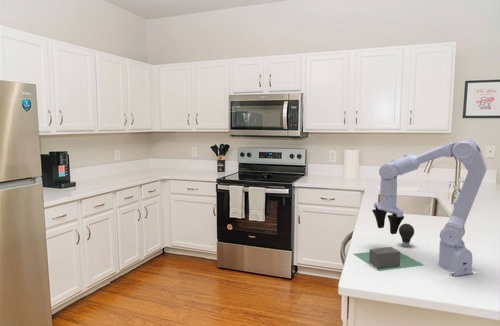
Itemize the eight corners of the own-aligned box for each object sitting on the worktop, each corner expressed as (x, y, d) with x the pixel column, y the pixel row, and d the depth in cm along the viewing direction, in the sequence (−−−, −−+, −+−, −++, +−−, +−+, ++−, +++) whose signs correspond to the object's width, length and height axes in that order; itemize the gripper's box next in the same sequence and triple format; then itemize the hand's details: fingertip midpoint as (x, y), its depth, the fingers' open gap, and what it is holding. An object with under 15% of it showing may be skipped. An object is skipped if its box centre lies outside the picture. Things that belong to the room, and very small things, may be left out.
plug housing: (399, 265, 118) (400, 251, 118) (377, 268, 116) (378, 254, 116) (390, 260, 123) (391, 246, 123) (369, 262, 121) (369, 249, 120)
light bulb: (409, 245, 141) (410, 221, 140) (416, 250, 136) (417, 225, 134) (395, 245, 141) (396, 221, 140) (402, 250, 135) (403, 225, 134)
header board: (424, 267, 119) (424, 256, 119) (378, 273, 115) (379, 262, 114) (393, 251, 135) (394, 241, 134) (352, 256, 130) (353, 246, 130)
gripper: (367, 192, 135) (366, 226, 136) (391, 199, 121) (390, 237, 122) (383, 191, 137) (382, 224, 138) (408, 198, 123) (407, 235, 124)
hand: (387, 230), depth 130 cm, fingers open, 7 cm apart
